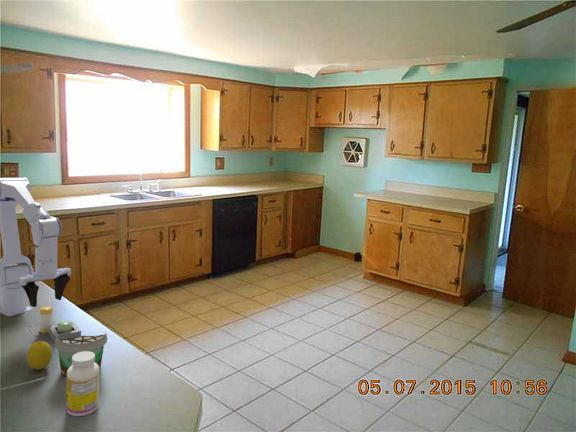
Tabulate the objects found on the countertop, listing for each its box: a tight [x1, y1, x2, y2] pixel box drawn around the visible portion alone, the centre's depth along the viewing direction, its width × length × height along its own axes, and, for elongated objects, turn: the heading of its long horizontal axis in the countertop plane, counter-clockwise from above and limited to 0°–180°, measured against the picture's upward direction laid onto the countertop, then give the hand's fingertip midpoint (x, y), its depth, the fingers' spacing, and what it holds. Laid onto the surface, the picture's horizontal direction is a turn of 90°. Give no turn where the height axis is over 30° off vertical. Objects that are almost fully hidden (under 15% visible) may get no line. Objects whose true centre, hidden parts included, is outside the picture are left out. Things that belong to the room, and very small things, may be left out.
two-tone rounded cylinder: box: [39, 305, 54, 334], centre depth 131 cm, size 4×4×7 cm
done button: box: [56, 320, 74, 334], centre depth 128 cm, size 4×4×3 cm
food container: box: [54, 332, 108, 379], centre depth 110 cm, size 12×6×10 cm, turn 117°
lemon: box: [26, 340, 53, 371], centre depth 110 cm, size 6×6×8 cm
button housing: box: [48, 321, 82, 344], centre depth 129 cm, size 7×7×2 cm
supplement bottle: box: [65, 351, 101, 417], centre depth 97 cm, size 7×7×13 cm
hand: (46, 302), depth 130 cm, fingers open, 7 cm apart
